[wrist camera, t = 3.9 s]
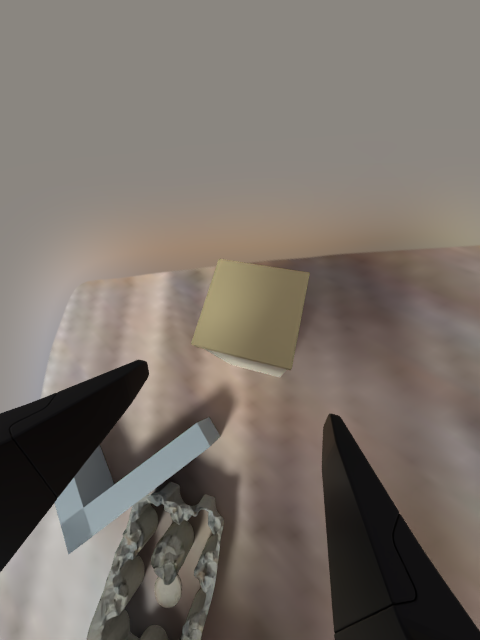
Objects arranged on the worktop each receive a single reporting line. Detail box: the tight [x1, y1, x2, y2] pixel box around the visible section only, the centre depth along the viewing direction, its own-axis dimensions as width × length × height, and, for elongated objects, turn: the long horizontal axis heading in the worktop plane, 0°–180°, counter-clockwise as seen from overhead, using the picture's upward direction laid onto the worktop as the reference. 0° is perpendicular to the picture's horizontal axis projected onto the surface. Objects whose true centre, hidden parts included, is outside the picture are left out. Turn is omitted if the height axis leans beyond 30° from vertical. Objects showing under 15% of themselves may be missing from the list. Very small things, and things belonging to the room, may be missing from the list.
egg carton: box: [87, 482, 224, 640], centre depth 15 cm, size 11×8×4 cm
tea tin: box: [191, 259, 310, 377], centre depth 16 cm, size 5×5×11 cm
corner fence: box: [55, 417, 220, 554], centre depth 19 cm, size 10×12×4 cm
